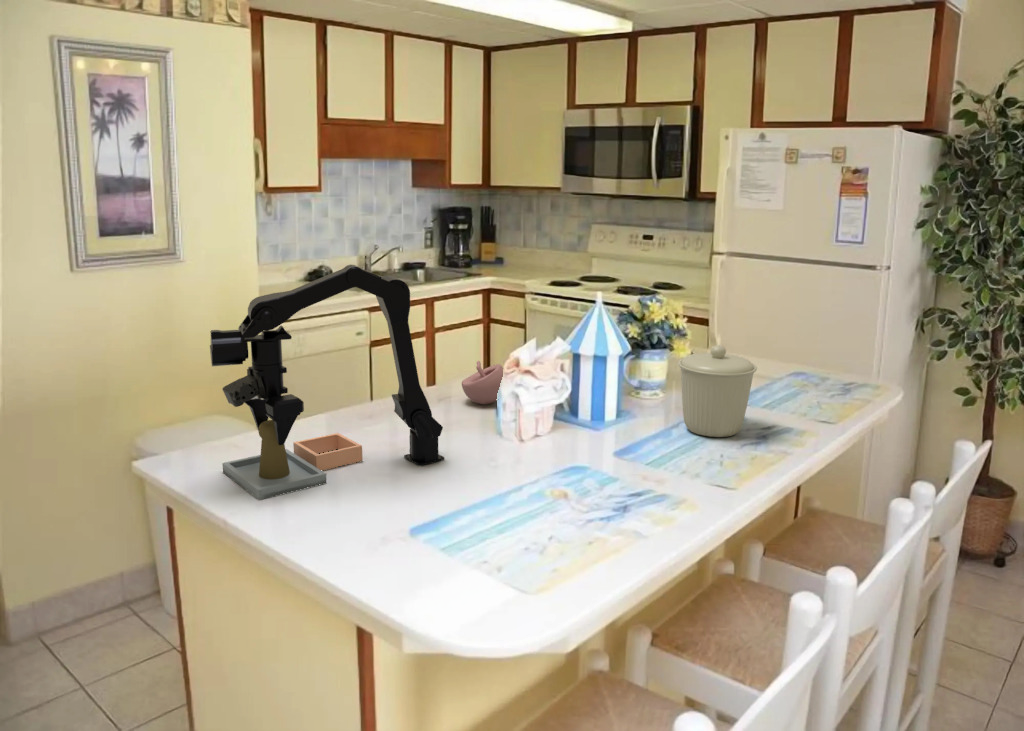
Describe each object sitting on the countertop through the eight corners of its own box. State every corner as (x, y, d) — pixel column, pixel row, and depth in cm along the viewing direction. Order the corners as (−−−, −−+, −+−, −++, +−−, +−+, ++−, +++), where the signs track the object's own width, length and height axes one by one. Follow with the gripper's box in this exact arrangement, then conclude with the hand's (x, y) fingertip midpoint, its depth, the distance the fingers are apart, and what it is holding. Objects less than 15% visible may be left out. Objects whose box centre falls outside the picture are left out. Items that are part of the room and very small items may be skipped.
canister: (716, 448, 192) (723, 357, 187) (658, 427, 206) (663, 342, 201) (767, 434, 202) (775, 348, 197) (708, 415, 217) (714, 334, 211)
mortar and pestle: (463, 396, 230) (463, 355, 227) (508, 397, 230) (508, 356, 227) (459, 409, 218) (459, 366, 216) (505, 410, 218) (506, 367, 215)
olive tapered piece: (274, 466, 175) (271, 415, 172) (296, 472, 172) (293, 420, 169) (252, 475, 170) (249, 422, 167) (274, 481, 167) (271, 428, 164)
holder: (362, 461, 181) (362, 445, 180) (316, 472, 174) (316, 456, 173) (338, 447, 189) (338, 432, 188) (294, 457, 182) (293, 442, 181)
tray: (326, 483, 168) (326, 473, 168) (258, 500, 160) (258, 490, 159) (287, 458, 182) (286, 449, 181) (222, 472, 173) (222, 463, 173)
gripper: (208, 358, 167) (213, 434, 171) (246, 378, 153) (250, 460, 157) (262, 351, 174) (266, 424, 178) (303, 369, 160) (306, 448, 164)
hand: (271, 438), depth 169 cm, fingers open, 9 cm apart
